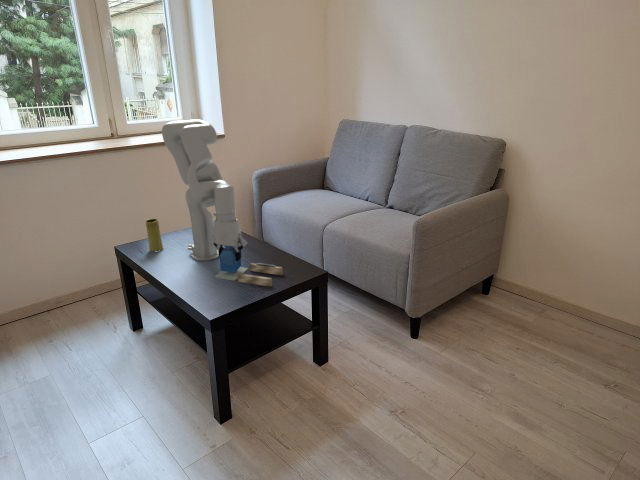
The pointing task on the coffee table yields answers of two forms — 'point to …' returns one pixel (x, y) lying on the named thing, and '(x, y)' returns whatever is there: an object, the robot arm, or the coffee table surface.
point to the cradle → (257, 279)
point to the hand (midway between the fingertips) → (230, 258)
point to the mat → (231, 274)
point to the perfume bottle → (229, 260)
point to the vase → (154, 235)
